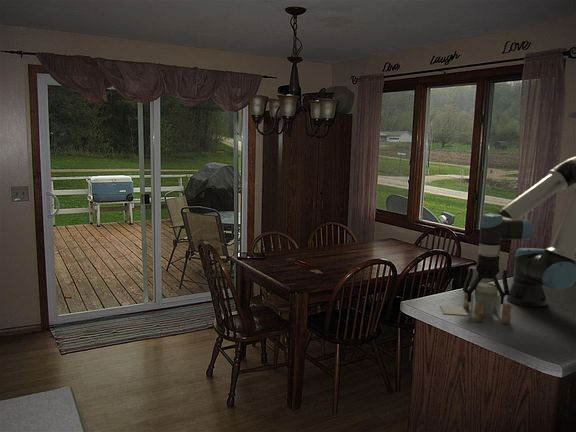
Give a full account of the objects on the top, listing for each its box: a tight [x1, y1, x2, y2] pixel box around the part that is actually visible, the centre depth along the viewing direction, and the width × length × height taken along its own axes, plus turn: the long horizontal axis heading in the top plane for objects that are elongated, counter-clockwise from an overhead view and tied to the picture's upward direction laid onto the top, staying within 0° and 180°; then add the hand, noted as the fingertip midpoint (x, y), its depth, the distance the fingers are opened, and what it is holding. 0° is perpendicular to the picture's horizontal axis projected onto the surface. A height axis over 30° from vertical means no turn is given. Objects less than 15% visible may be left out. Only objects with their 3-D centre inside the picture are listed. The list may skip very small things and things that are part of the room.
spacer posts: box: [462, 291, 512, 325], centre depth 186 cm, size 14×20×7 cm
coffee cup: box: [474, 281, 499, 318], centre depth 186 cm, size 8×9×12 cm
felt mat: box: [439, 305, 469, 317], centre depth 190 cm, size 9×9×1 cm
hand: (484, 310), depth 186 cm, fingers open, 9 cm apart
